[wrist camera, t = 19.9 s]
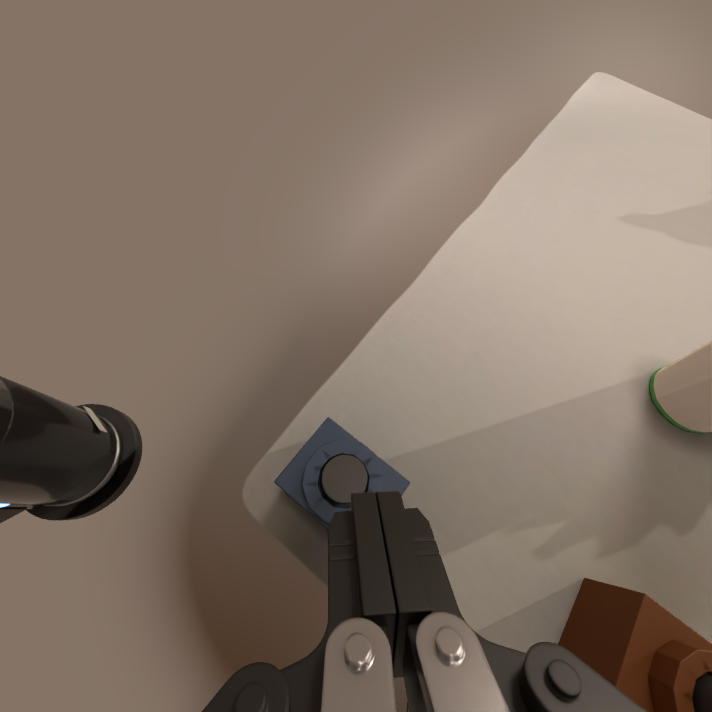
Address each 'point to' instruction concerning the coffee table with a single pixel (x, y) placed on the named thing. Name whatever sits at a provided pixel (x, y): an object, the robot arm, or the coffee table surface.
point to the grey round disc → (703, 695)
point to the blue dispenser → (310, 461)
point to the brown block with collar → (637, 646)
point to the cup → (686, 390)
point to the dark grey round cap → (344, 478)
